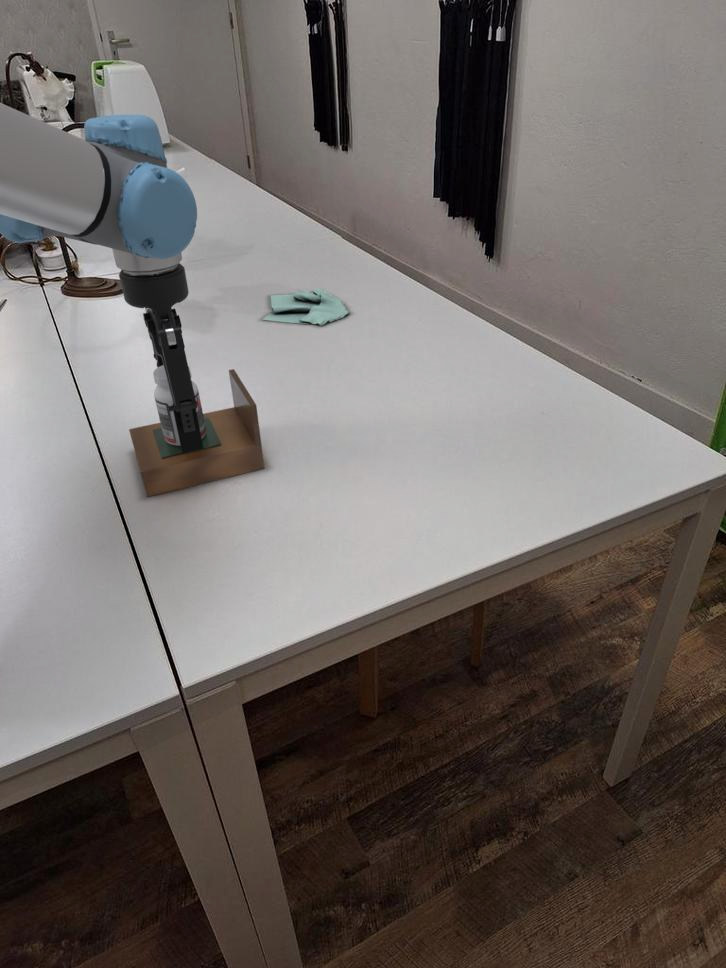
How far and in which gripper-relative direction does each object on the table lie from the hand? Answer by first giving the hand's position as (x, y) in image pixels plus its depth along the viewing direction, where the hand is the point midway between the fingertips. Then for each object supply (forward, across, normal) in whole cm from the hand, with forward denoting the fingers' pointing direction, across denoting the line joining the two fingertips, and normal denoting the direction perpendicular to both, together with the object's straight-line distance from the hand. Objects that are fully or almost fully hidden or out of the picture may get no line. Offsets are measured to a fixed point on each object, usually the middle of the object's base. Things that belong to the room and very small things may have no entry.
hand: (184, 430), depth 89 cm
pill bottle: (+1, 0, 0) cm, 1 cm away
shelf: (+5, 0, -1) cm, 5 cm away
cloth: (+5, +52, -35) cm, 63 cm away
